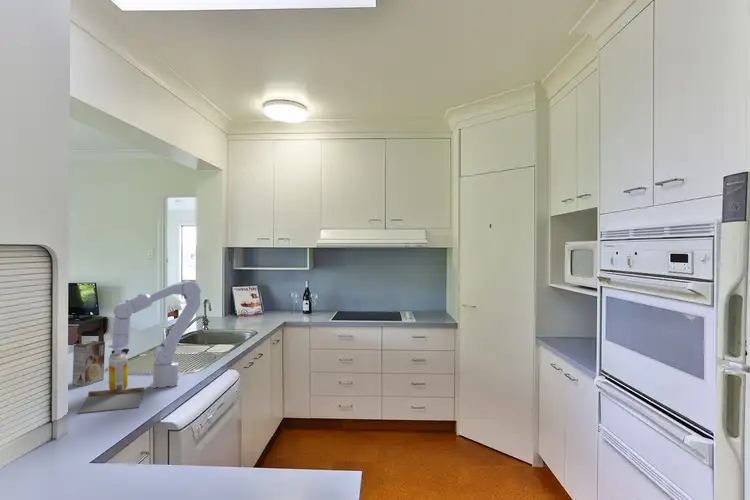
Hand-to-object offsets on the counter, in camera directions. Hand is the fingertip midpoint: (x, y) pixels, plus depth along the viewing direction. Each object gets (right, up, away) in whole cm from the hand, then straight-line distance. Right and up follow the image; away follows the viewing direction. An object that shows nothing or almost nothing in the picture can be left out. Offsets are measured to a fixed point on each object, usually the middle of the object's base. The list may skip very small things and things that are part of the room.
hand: (119, 368), depth 161 cm
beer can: (0, -8, -1) cm, 8 cm away
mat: (+5, -9, -13) cm, 16 cm away
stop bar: (+2, -9, -4) cm, 10 cm away
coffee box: (-18, -8, +9) cm, 22 cm away
